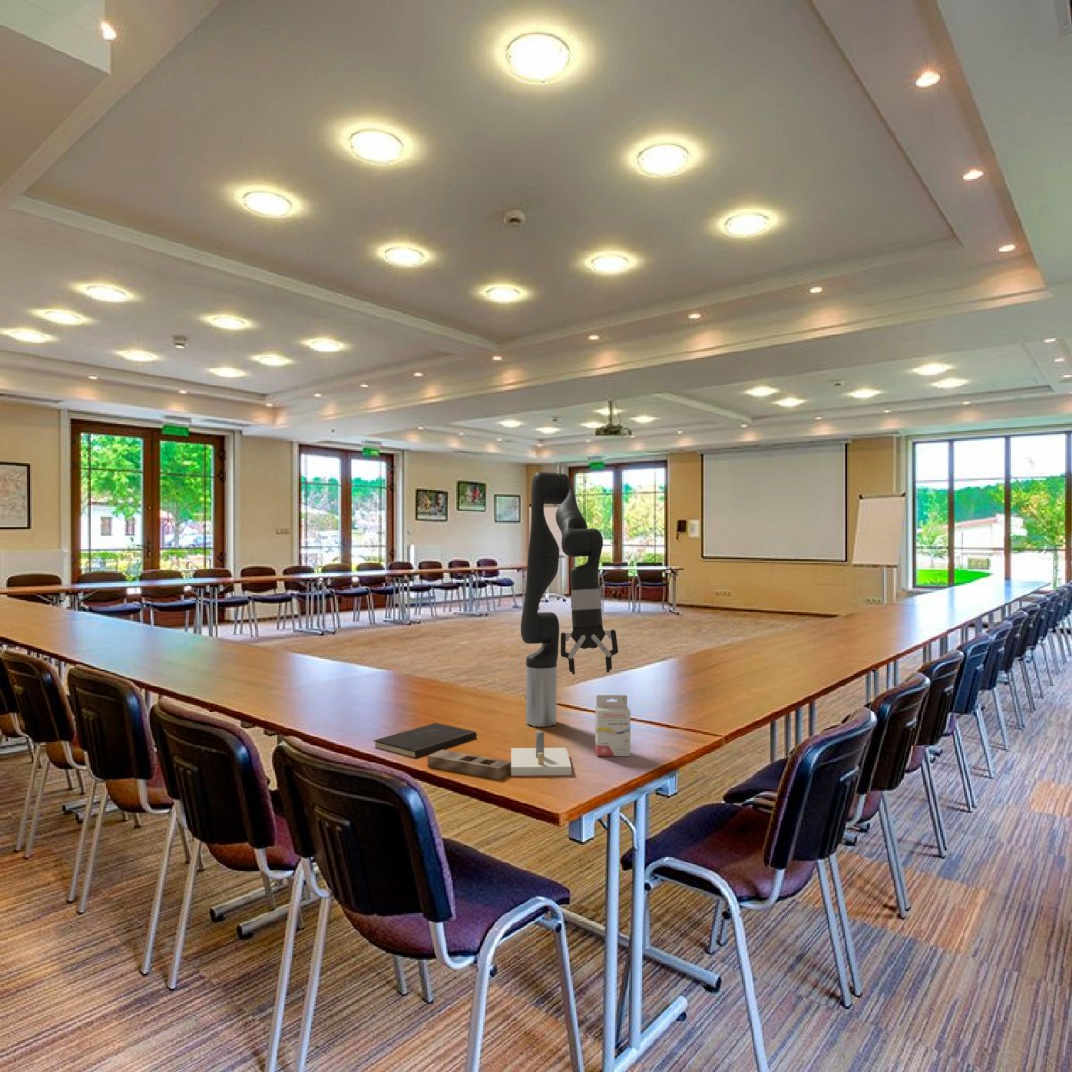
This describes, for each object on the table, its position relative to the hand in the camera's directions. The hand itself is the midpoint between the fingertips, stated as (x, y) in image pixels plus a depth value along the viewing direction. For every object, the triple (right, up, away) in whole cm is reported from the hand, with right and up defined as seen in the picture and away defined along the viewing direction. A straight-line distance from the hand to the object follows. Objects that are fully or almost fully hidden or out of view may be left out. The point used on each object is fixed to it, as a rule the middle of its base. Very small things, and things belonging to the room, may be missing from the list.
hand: (590, 673), depth 173 cm
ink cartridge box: (+6, -22, +5) cm, 23 cm away
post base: (-13, -22, -4) cm, 25 cm away
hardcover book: (-43, -23, +16) cm, 51 cm away
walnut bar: (-30, -22, -7) cm, 37 cm away
